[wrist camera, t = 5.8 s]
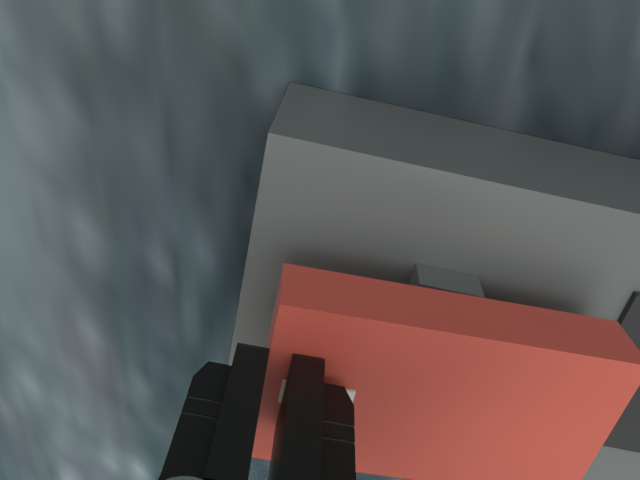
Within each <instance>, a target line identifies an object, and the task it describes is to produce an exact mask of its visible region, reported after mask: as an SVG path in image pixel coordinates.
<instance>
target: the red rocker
mask: <svg viewBox="0 0 640 480" xmlns="http://www.w3.org/2000/svg"><path fill="white" fill-rule="evenodd" d="M266 348H270V351H269V357H268V363H267V369H266V375H265V381H264V387H263V393H262V399H261V404H260V410H259V416H258V422H257V428H256V434H255V440H254V446H253V452H252V457H251V458H258V459H266V460H271V454H272V447H273V439H274V432H275V426H276V421H277V417H278V413H279V409H280V404H281V401H282V397H283V393H284V389H285V385H286V379H287V375H288V371H289V367H290V363H291V358H292V354H293V353H295V354H300V355H306V356H312V357H317V358H323V359H325V375H324V383H328V384H334V385H339V386H344V387H345V389H346V391H347V393H348V395H349V396H350V398H351V400H352V402H353V404H354V420H355V426H354V429H355V444H354V446H355V463H356V472H359V473H367V474H374V475H381V476H388V477H395V478H403V479H410V480H582V478H583V476H584V475H585V473H586V471H587V470H588V468H589V467H590V465H591V463H592V462H593V460H594V458H595V457H596V455H597V454H598V452H599V450H600V449H601V447H602V445H603V444H604V442H605V441H606V439H607V437H608V436H609V434H610V432H611V431H612V429H613V428H614V426H615V424H616V423H617V421H618V419H619V418H620V416H621V415H622V413H623V411H624V410H625V408H626V406H627V405H628V403H629V402H630V400H631V398H632V397H633V395H634V394H635V392H636V390H637V389H638V387H639V385H640V351H639V349H638V348H637V347H636V345H635V344H634V343H633V341H632V340H631V339H630V337H629V336H628V335H627V333H626V332H625V331H624V329H623V328H622V327H621V325H620V324H619V323H618V321H614V320H608V319H602V318H597V317H591V316H585V315H580V314H574V313H568V312H562V311H557V310H551V309H545V308H539V307H534V306H528V305H522V304H516V303H511V302H505V301H499V300H494V299H488V298H482V297H476V296H471V295H465V294H459V293H453V292H448V291H442V290H436V289H430V288H425V287H419V286H413V285H408V284H402V283H396V282H390V281H385V280H379V279H373V278H367V277H362V276H356V275H350V274H345V273H339V272H333V271H327V270H322V269H316V268H310V267H304V266H299V265H293V264H287V263H283V268H282V273H281V277H280V282H279V287H278V292H277V296H276V301H275V306H274V311H273V316H272V320H271V325H270V330H269V335H268V340H267V344H266Z"/></svg>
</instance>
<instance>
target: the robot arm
mask: <svg viewBox="0 0 640 480" xmlns="http://www.w3.org/2000/svg"><path fill="white" fill-rule="evenodd" d="M269 351H270V348H265V347H260V346H255V345H249V344H244V343H239V342H238V343H237V346H236V350H235V354H234V358H233V362H232V366H230V365H225V364H219V363H214V362H207V363H206V364H205V365H204V366H203V367H202V368H201V369H200V370H199V371H198V372H197V373H196V374H195V375H194V376H193V379H192V382H191V385H190V388H189V391H188V394H187V398H186V400H185V403H184V406H183V409H182V413H181V415H180V418H179V421H178V424H177V427H176V430H175V433H174V436H173V439H172V442H171V445H170V448H169V451H168V454H167V457H166V460H165V463H164V466H163V469H162V472H161V475H160V477H159V479H158V480H248V475H249V469H250V463H251V457H252V452H253V446H254V440H255V434H256V428H257V422H258V416H259V410H260V404H261V399H262V393H263V387H264V381H265V375H266V369H267V363H268V357H269ZM324 375H325V359H323V358H317V357H312V356H306V355H300V354H295V353H293V354H292V358H291V363H290V367H289V371H288V375H287V379H286V385H285V389H284V393H283V397H282V401H281V404H280V409H279V413H278V417H277V421H276V426H275V432H274V439H273V447H272V454H271V462H270V469H269V476H268V480H356V463H355V446H354V444H355V429H354V426H355V420H354V404H353V402H352V400H351V398H350V396H349V395H348V393H347V391H346V389H345V387H344V386H339V385H334V384H328V383H324Z"/></svg>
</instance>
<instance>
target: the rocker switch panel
mask: <svg viewBox="0 0 640 480" xmlns="http://www.w3.org/2000/svg"><path fill="white" fill-rule="evenodd" d="M283 263H287V264H293V265H299V266H304V267H310V268H316V269H322V270H327V271H333V272H339V273H345V274H350V275H356V276H362V277H367V278H373V279H379V280H385V281H390V282H396V283H402V284H408V285H413V286H419V287H425V288H430V289H436V290H442V291H448V292H453V293H459V294H465V295H471V296H476V297H482V298H488V299H494V300H499V301H505V302H511V303H516V304H522V305H528V306H534V307H539V308H545V309H551V310H557V311H562V312H568V313H574V314H580V315H585V316H591V317H597V318H602V319H608V320H614V321H618V323H619V324H620V325H621V327H622V328H623V329H624V331H625V332H626V333H627V335H628V336H629V337H630V339H631V340H632V341H633V343H634V344H635V345H636V347H637V348H638V349H639V351H640V160H637V159H633V158H628V157H624V156H619V155H615V154H610V153H606V152H602V151H597V150H593V149H588V148H584V147H579V146H575V145H570V144H566V143H561V142H557V141H552V140H548V139H544V138H539V137H535V136H530V135H526V134H521V133H517V132H512V131H508V130H503V129H499V128H494V127H490V126H485V125H481V124H477V123H472V122H468V121H463V120H459V119H454V118H450V117H445V116H441V115H436V114H432V113H427V112H423V111H418V110H414V109H410V108H405V107H401V106H396V105H392V104H387V103H383V102H378V101H374V100H369V99H365V98H360V97H356V96H351V95H347V94H343V93H338V92H334V91H329V90H325V89H320V88H316V87H311V86H307V85H302V84H298V83H293V82H290V83H289V86H288V88H287V90H286V93H285V95H284V97H283V99H282V102H281V104H280V106H279V109H278V111H277V113H276V116H275V118H274V120H273V123H272V125H271V127H270V129H269V132H268V136H267V142H266V148H265V154H264V159H263V165H262V171H261V177H260V182H259V188H258V194H257V200H256V206H255V211H254V217H253V223H252V229H251V235H250V240H249V246H248V252H247V258H246V263H245V269H244V275H243V281H242V287H241V292H240V298H239V304H238V310H237V315H236V321H235V327H234V333H233V339H232V344H231V350H230V356H229V362H228V365H230V366H232V362H233V358H234V354H235V350H236V346H237V343H238V342H239V343H244V344H249V345H255V346H260V347H265V348H266V344H267V340H268V335H269V330H270V325H271V320H272V316H273V311H274V306H275V301H276V296H277V292H278V287H279V282H280V277H281V273H282V268H283ZM582 480H640V385H639V387H638V389H637V390H636V392H635V394H634V395H633V397H632V398H631V400H630V402H629V403H628V405H627V406H626V408H625V410H624V411H623V413H622V415H621V416H620V418H619V419H618V421H617V423H616V424H615V426H614V428H613V429H612V431H611V432H610V434H609V436H608V437H607V439H606V441H605V442H604V444H603V445H602V447H601V449H600V450H599V452H598V454H597V455H596V457H595V458H594V460H593V462H592V463H591V465H590V467H589V468H588V470H587V471H586V473H585V475H584V476H583V478H582Z"/></svg>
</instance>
